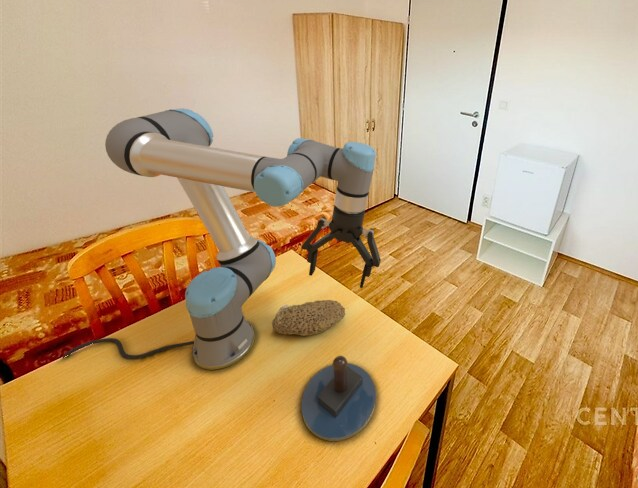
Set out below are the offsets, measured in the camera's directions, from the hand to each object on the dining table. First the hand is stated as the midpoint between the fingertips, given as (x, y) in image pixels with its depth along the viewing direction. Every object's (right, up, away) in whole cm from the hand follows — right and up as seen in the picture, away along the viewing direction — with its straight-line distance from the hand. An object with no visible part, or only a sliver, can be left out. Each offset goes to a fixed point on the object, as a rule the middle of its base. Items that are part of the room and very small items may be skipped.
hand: (337, 278), depth 83 cm
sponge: (-11, -19, +15) cm, 26 cm away
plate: (+2, -29, -5) cm, 29 cm away
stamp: (+2, -27, -4) cm, 28 cm away
